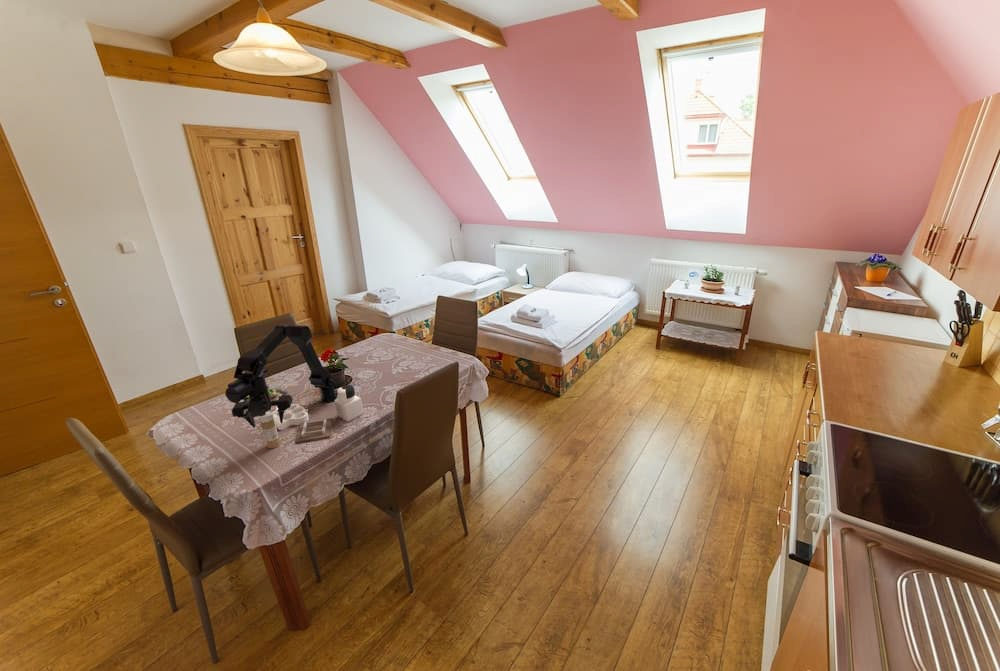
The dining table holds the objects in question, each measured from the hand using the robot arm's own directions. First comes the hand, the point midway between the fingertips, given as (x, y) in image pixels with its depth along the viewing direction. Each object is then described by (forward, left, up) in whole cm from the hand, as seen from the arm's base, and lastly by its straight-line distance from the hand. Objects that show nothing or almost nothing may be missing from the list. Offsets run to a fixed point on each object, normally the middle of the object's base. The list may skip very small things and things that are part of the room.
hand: (268, 425), depth 155 cm
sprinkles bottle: (0, 0, -9) cm, 9 cm away
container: (-13, +27, -9) cm, 31 cm away
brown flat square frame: (-5, +14, -9) cm, 17 cm away
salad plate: (-40, -13, -10) cm, 43 cm away
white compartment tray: (-18, +2, -10) cm, 21 cm away
